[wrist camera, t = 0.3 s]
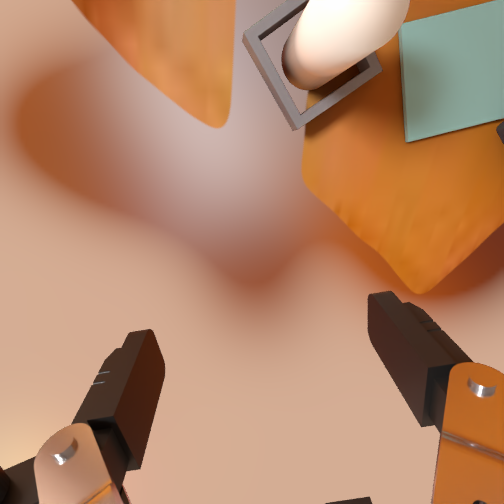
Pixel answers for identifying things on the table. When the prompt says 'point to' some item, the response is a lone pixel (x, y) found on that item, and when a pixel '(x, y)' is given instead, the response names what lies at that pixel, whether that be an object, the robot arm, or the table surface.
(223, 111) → the table surface
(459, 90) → the coaster pad
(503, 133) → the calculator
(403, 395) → the robot arm
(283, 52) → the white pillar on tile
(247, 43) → the holder
